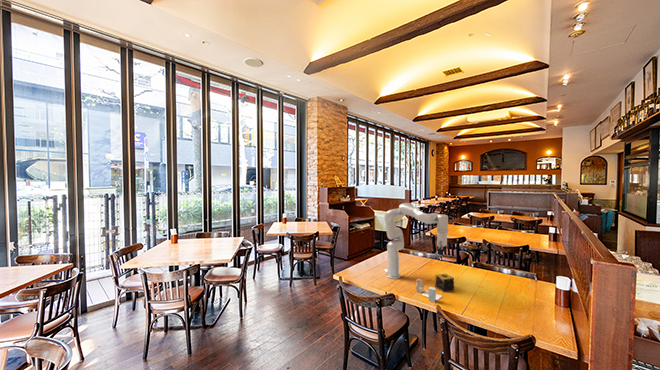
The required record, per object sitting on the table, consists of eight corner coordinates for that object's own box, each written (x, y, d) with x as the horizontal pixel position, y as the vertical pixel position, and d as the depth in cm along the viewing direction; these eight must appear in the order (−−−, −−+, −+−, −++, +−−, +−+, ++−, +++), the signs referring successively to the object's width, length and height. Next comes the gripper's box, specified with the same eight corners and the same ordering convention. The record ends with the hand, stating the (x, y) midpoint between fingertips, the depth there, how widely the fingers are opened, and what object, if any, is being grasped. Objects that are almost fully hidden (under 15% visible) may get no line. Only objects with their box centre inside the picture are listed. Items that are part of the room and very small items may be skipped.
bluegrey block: (428, 301, 184) (428, 288, 184) (429, 298, 188) (429, 286, 187) (434, 302, 182) (434, 289, 182) (435, 300, 185) (435, 287, 185)
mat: (421, 295, 193) (421, 294, 193) (426, 291, 200) (426, 290, 200) (437, 300, 185) (437, 300, 185) (442, 296, 191) (442, 295, 191)
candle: (443, 292, 198) (443, 279, 198) (434, 286, 208) (434, 274, 207) (454, 290, 201) (454, 277, 200) (445, 285, 210) (445, 273, 210)
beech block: (416, 291, 199) (416, 280, 199) (418, 290, 202) (418, 278, 202) (421, 293, 196) (421, 281, 196) (423, 291, 199) (423, 280, 199)
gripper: (440, 228, 205) (440, 249, 206) (433, 232, 192) (433, 255, 192) (450, 229, 200) (450, 251, 201) (444, 233, 187) (444, 257, 188)
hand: (442, 253), depth 197 cm, fingers open, 9 cm apart
